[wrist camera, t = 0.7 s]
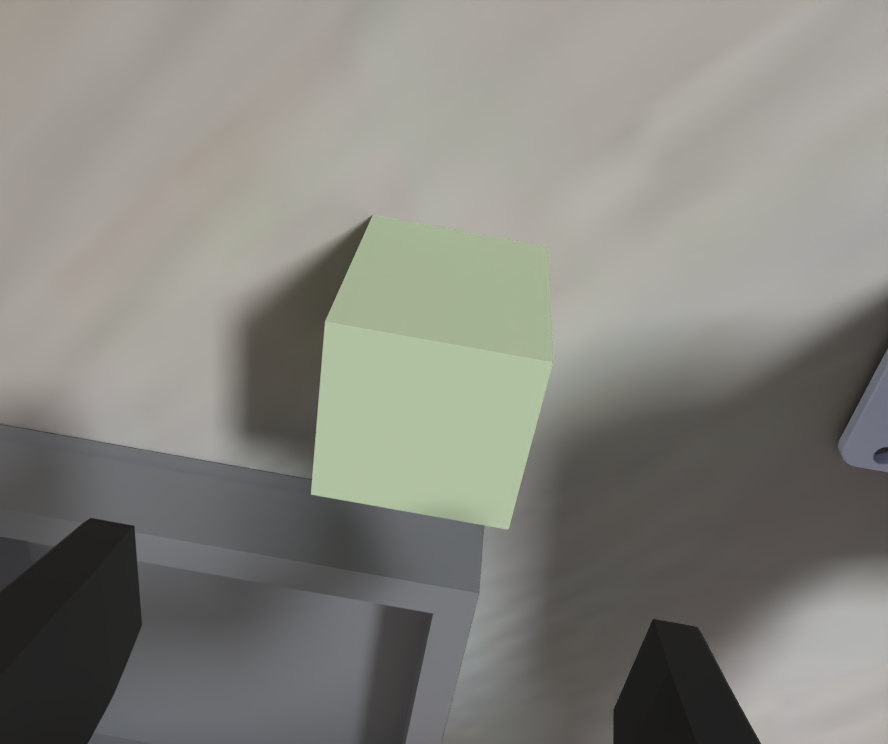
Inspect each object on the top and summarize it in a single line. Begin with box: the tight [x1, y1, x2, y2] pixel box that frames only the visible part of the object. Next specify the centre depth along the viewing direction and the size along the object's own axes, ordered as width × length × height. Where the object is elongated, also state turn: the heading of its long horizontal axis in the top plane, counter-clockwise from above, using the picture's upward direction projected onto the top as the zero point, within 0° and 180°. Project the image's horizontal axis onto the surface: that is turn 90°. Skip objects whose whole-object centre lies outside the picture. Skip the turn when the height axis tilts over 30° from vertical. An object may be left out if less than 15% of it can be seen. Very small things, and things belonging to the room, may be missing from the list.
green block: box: [311, 215, 553, 530], centre depth 17 cm, size 4×4×5 cm
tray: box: [0, 425, 484, 744], centre depth 25 cm, size 14×14×3 cm
